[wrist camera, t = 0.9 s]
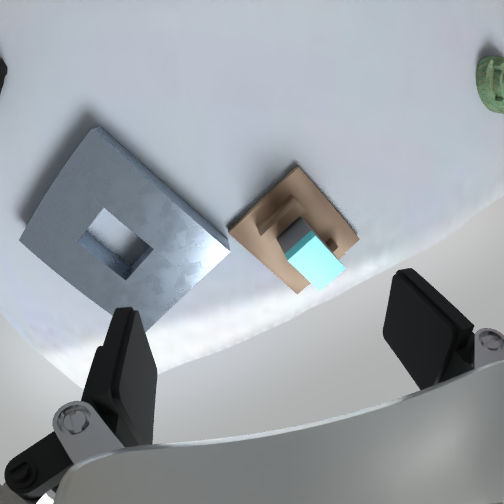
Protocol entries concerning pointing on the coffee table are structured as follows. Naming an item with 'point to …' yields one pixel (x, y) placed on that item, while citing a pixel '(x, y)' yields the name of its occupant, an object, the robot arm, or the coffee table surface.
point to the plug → (309, 254)
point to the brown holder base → (283, 215)
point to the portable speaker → (2, 73)
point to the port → (131, 215)
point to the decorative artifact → (491, 82)
